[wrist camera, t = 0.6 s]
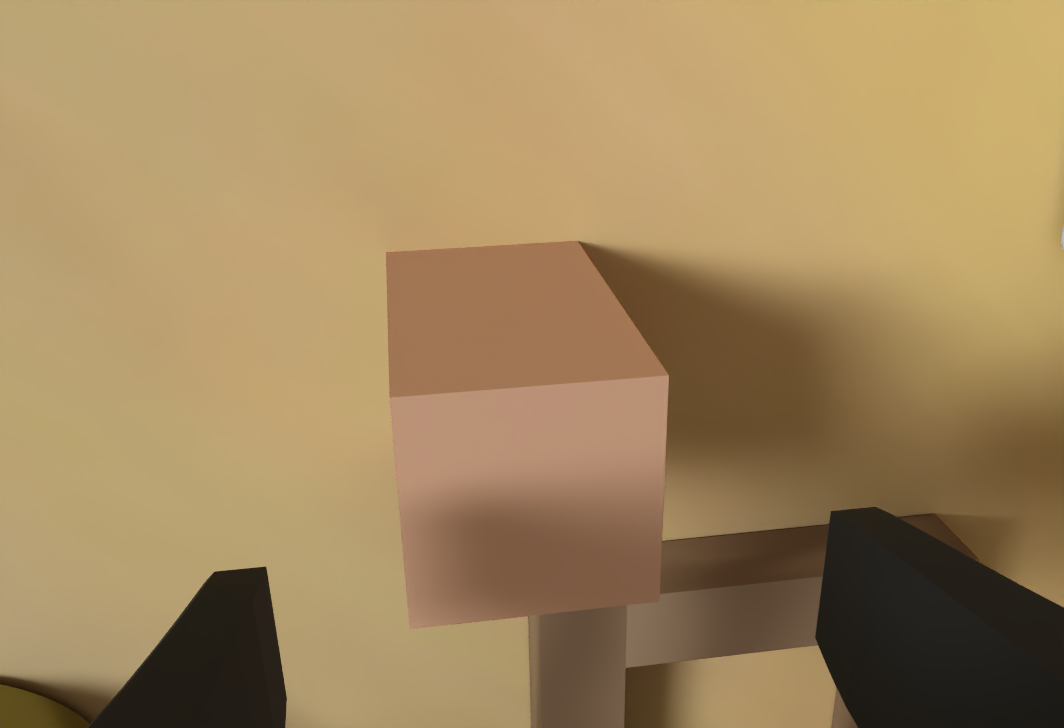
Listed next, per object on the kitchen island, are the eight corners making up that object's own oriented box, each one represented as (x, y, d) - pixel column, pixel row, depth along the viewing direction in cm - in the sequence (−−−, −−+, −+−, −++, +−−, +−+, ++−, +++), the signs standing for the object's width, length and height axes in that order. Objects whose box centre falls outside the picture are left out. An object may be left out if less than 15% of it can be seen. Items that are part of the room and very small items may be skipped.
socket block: (934, 513, 24) (979, 559, 23) (881, 813, 29) (916, 872, 27) (526, 555, 23) (539, 607, 21) (534, 863, 27) (545, 928, 25)
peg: (577, 240, 20) (669, 375, 14) (577, 410, 22) (659, 601, 15) (386, 252, 20) (389, 397, 13) (400, 425, 21) (410, 628, 15)
